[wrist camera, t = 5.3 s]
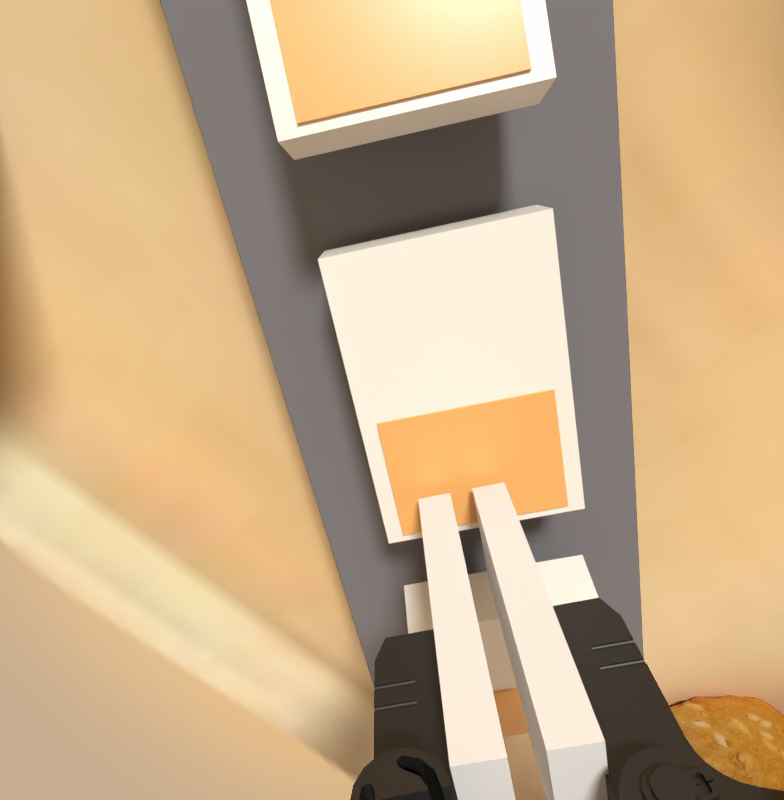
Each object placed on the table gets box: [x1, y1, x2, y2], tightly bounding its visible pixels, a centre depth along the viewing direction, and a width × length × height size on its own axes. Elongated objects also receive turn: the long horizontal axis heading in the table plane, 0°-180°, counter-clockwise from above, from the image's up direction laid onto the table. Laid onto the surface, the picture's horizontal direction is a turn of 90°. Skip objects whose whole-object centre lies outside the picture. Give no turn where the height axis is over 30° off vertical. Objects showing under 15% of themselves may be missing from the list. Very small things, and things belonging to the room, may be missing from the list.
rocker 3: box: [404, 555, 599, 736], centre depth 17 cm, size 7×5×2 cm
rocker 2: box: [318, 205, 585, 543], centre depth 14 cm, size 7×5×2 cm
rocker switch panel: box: [160, 0, 643, 687], centre depth 17 cm, size 28×9×5 cm, turn 12°
